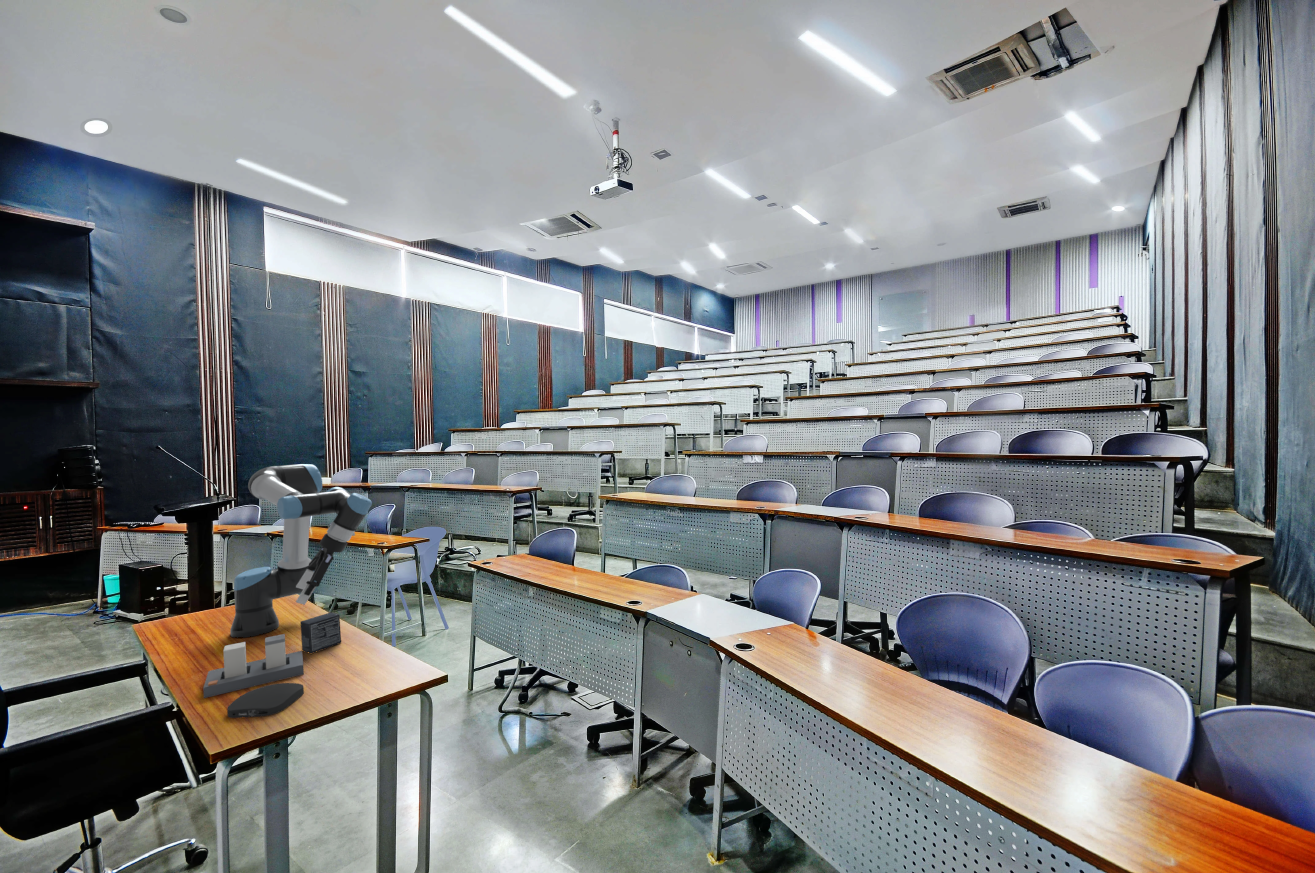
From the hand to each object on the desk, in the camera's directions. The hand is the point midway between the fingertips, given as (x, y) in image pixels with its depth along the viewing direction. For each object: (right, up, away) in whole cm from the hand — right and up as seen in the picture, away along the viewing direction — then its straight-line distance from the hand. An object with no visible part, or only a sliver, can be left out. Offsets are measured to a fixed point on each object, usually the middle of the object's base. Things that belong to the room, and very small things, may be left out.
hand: (300, 595), depth 179 cm
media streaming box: (+9, -22, -28) cm, 37 cm away
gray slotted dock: (-6, -22, -11) cm, 25 cm away
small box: (0, -22, +13) cm, 25 cm away
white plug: (-2, -22, -8) cm, 23 cm away
